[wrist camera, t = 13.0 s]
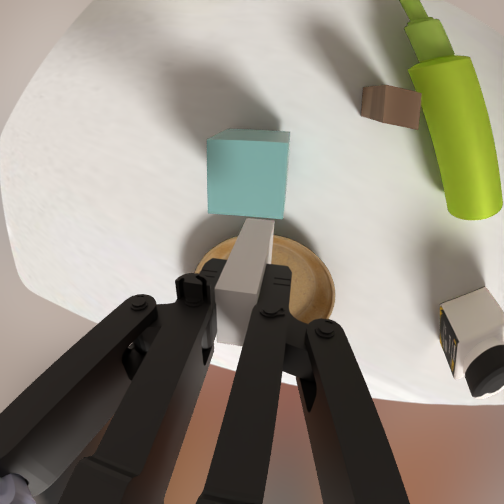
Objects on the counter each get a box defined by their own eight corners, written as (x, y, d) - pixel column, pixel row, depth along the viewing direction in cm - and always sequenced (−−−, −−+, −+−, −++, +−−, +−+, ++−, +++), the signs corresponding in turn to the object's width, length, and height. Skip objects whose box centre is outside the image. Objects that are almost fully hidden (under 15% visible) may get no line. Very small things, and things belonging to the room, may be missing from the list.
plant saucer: (233, 196, 29) (227, 205, 26) (360, 266, 30) (364, 280, 28) (181, 299, 36) (174, 313, 33) (287, 349, 37) (286, 365, 35)
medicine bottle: (438, 303, 31) (473, 379, 20) (486, 285, 29) (529, 352, 18) (439, 341, 34) (464, 413, 23) (482, 324, 32) (515, 390, 21)
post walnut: (391, 92, 21) (421, 93, 15) (388, 120, 23) (418, 129, 17) (362, 87, 22) (385, 84, 16) (360, 115, 23) (382, 122, 17)
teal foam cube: (290, 131, 24) (288, 143, 18) (286, 190, 26) (282, 219, 21) (228, 128, 24) (206, 139, 19) (227, 186, 27) (208, 213, 21)
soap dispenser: (441, 227, 22) (356, -8, 14) (451, 192, 26) (383, 2, 18) (503, 226, 18) (424, -31, 10) (502, 190, 21) (437, -14, 13)
